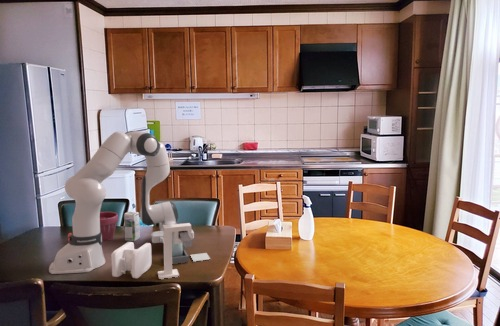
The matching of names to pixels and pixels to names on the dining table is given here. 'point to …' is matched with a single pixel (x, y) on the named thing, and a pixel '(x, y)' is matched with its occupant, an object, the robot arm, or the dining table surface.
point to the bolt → (185, 238)
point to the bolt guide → (167, 238)
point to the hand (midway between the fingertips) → (175, 240)
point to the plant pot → (108, 224)
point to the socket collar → (181, 258)
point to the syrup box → (132, 226)
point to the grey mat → (200, 257)
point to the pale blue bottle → (177, 249)
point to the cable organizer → (131, 260)
